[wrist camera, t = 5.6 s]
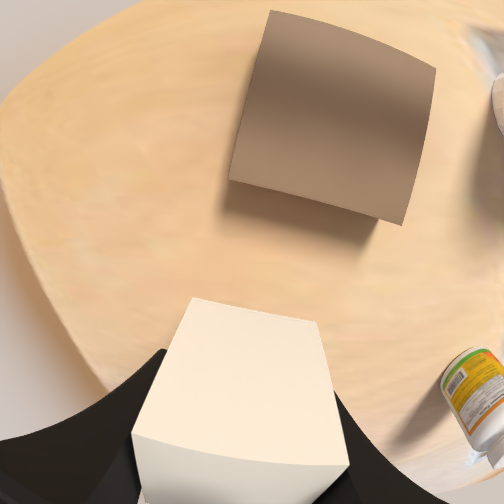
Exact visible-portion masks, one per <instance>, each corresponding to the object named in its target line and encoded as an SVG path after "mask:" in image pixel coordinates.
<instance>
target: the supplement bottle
mask: <svg viewBox="0 0 504 504" xmlns="http://www.w3.org/2000/svg"><path fill="white" fill-rule="evenodd" d="M440 389H441V392H442V394H443V396H444V398H445V399H446V401H447V403H448V405H449V406H450V408H451V410H452V412H453V413H454V415H455V417H456V419H457V421H458V422H459V424H460V426H461V428H462V430H463V432H464V434H465V436H466V438H467V440H468V442H469V443H470V445H471V447H472V448H473V449H474V450H475V451H478V452H484V451H487V450H488V454H487V457H488V460H489V462H490V464H491V466H492V468H493V469H494V470H497V469H499V468H501V467H503V466H504V367H503V365H502V364H501V363H500V362H499V361H498V359H497V358H496V357H495V356H494V355H493V354H492V353H491V352H490V350H489V349H487V348H486V347H484V346H476V347H473V348H470V349H468V350H466V351H465V352H463V353H462V354H461V355H459V356H458V357H457V358H456V359H455V360H454V361H453V362H452V363H451V364H450V366H449V367H448V368H447V370H446V371H445V373H444V375H443V377H442V379H441V383H440Z"/></svg>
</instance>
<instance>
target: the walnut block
mask: <svg viewBox="0 0 504 504" xmlns="http://www.w3.org/2000/svg"><path fill="white" fill-rule="evenodd" d="M435 74H436V68H434V67H432V66H430V65H429V64H427V63H425V62H423V61H421V60H419V59H417V58H415V57H413V56H411V55H409V54H406V53H404V52H402V51H400V50H398V49H395V48H393V47H391V46H389V45H386V44H384V43H381V42H379V41H376V40H374V39H371V38H369V37H366V36H363V35H361V34H358V33H355V32H352V31H349V30H346V29H343V28H340V27H337V26H334V25H331V24H327V23H324V22H320V21H317V20H313V19H309V18H305V17H301V16H297V15H293V14H288V13H284V12H279V11H274V10H270V13H269V17H268V20H267V24H266V27H265V31H264V34H263V38H262V42H261V45H260V49H259V53H258V56H257V60H256V64H255V68H254V71H253V75H252V79H251V83H250V87H249V91H248V95H247V99H246V103H245V107H244V111H243V115H242V119H241V123H240V128H239V132H238V136H237V140H236V145H235V149H234V153H233V158H232V162H231V167H230V171H229V176H228V180H233V181H238V182H242V183H247V184H251V185H255V186H260V187H264V188H268V189H272V190H276V191H280V192H284V193H288V194H292V195H296V196H300V197H304V198H308V199H312V200H315V201H319V202H323V203H327V204H330V205H334V206H337V207H341V208H344V209H348V210H351V211H355V212H358V213H362V214H365V215H368V216H372V217H375V218H378V219H381V220H385V221H388V222H391V223H394V224H397V225H400V226H402V223H403V220H404V217H405V213H406V210H407V207H408V203H409V200H410V197H411V193H412V189H413V186H414V182H415V178H416V174H417V170H418V166H419V162H420V158H421V154H422V149H423V145H424V140H425V135H426V131H427V125H428V120H429V115H430V109H431V103H432V96H433V90H434V82H435Z"/></svg>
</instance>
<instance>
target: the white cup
mask: <svg viewBox="0 0 504 504" xmlns="http://www.w3.org/2000/svg"><path fill="white" fill-rule="evenodd" d="M492 103H493V111H494V114H495V118H496V121H497V125H498V127H499V129H500V131H501V133H502V135H503V136H504V72H503V73H500V74H499V76H498V77H497V78H496V79H495V80H494V84H493V89H492Z"/></svg>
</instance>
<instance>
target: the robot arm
mask: <svg viewBox="0 0 504 504" xmlns="http://www.w3.org/2000/svg"><path fill="white" fill-rule="evenodd" d="M167 351H168V350H166V349H160V350H158V351H157V352H156V353H155V354H154V355H153V356H152V357H151V358H150V359H149V360H148V361H147V362H146V363H145V364H144V365H143V366H142V367H141V368H140V369H139V370H138V371H137V372H135V373H134V374H133V375H132V376H131V377H130V378H128V379H127V380H126V381H125V382H124V383H122V384H121V385H120V386H119V387H117V388H116V389H115V390H113V391H112V392H110V393H109V394H108V395H106V396H105V397H104V398H102V399H101V400H99V401H98V402H96V403H95V404H93V405H91V406H90V407H88V408H86V409H85V410H83V411H82V412H80V413H78V414H76V415H74V416H72V417H70V418H68V419H66V420H64V421H62V422H59V423H57V424H55V425H52V426H50V427H47V428H44V429H42V430H39V431H36V432H33V433H31V434H27V435H24V436H20V437H16V438H11V439H6V440H2V441H0V504H137V503H138V499H139V495H140V492H141V488H142V486H141V482H140V477H139V472H138V468H137V463H136V457H135V452H134V446H133V441H132V434H131V432H132V430H133V427H134V425H135V423H136V420H137V418H138V416H139V413H140V411H141V409H142V406H143V404H144V402H145V399H146V397H147V395H148V393H149V390H150V388H151V386H152V384H153V381H154V379H155V377H156V375H157V373H158V370H159V368H160V366H161V364H162V362H163V359H164V357H165V355H166V353H167ZM333 391H334V390H333ZM334 395H335V399H336V403H337V408H338V412H339V417H340V421H341V426H342V430H343V435H344V440H345V444H346V449H347V454H348V459H349V464H350V465H349V466H348V467H347V468H346V470H345V471H344V472H343V473H342V474H341V475H340V476H339V477H338V478H337V479H336V480H335V481H334V482H333V483H332V484H331V485H330V486H329V487H328V488H327V489H326V490H325V491H324V492H323V493H322V494H321V495H320V496H319V497H318V498H317V499H316V500H315V501H314V502H313V503H312V504H449V503H447V502H445V501H443V500H441V499H438V498H437V497H435V496H434V495H432V494H430V493H429V492H427V491H426V490H424V489H423V488H421V487H420V486H418V485H417V484H415V483H414V482H413V481H411V480H410V479H409V478H408V477H406V476H405V475H404V474H403V473H401V472H400V471H399V470H398V469H397V468H396V467H395V466H393V465H392V464H391V463H390V462H389V461H388V460H387V459H386V458H385V457H384V456H383V455H382V454H381V453H380V452H379V451H378V449H377V448H376V447H375V446H374V445H373V444H372V443H371V441H370V440H369V439H368V438H367V437H366V435H365V434H364V433H363V432H362V430H361V429H360V428H359V426H358V425H357V424H356V422H355V421H354V420H353V418H352V417H351V415H350V414H349V413H348V411H347V410H346V408H345V407H344V405H343V404H342V402H341V401H340V399H339V398H338V396H337V394H336V393H335V391H334Z"/></svg>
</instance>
